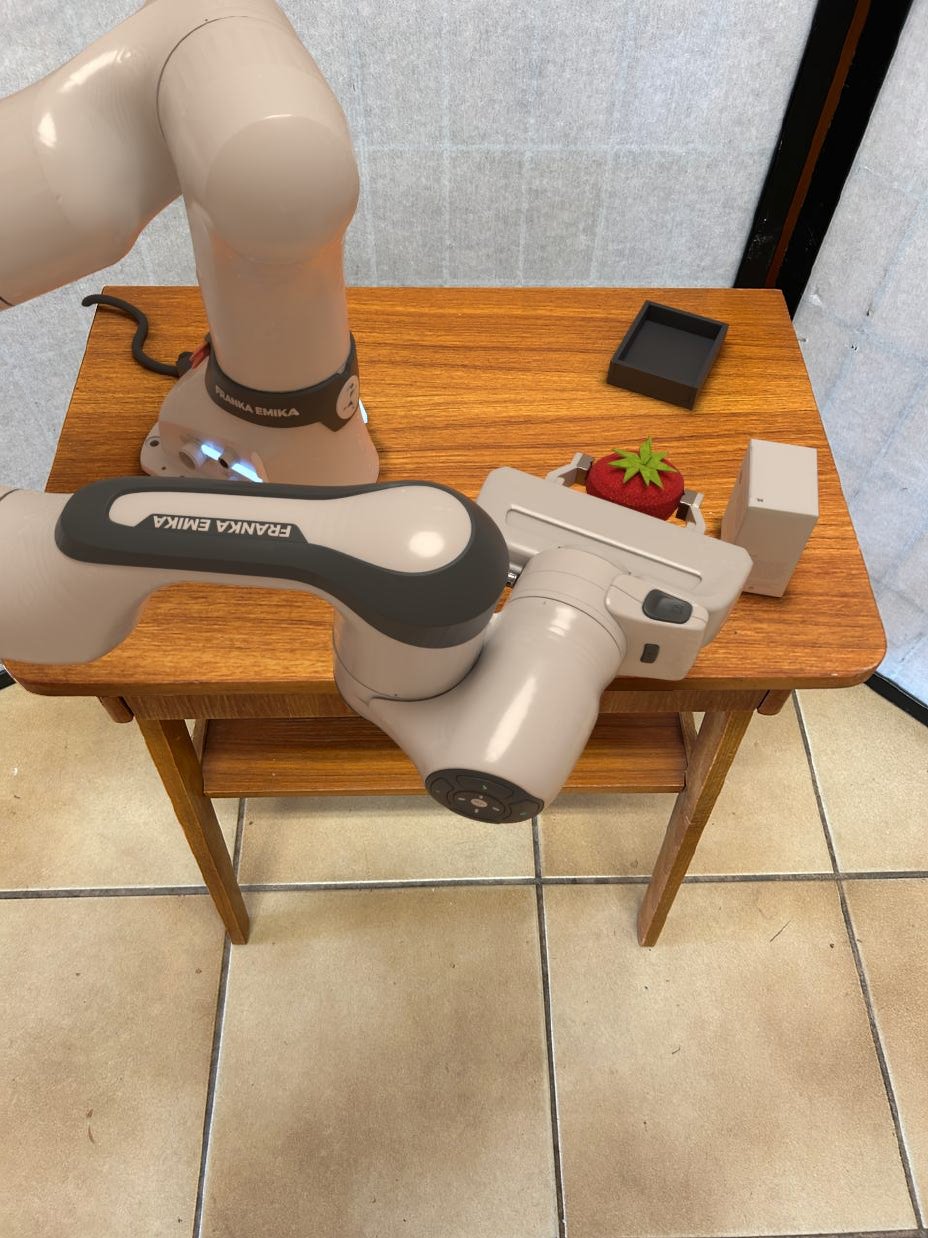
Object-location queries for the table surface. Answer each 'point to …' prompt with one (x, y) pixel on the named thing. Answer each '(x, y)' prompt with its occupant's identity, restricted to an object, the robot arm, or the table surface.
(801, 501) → the small box
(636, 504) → the strawberry
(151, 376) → the table surface
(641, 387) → the tray
